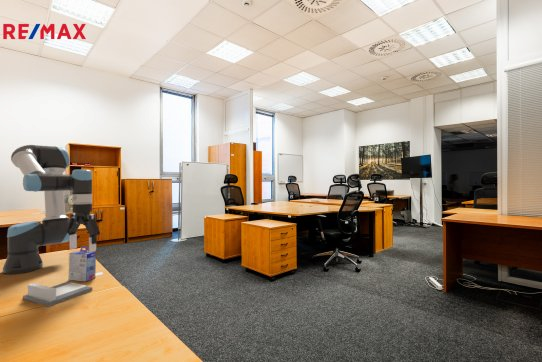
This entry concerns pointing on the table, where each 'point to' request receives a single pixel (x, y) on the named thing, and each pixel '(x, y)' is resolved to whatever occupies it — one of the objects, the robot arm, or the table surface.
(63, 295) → the dock board
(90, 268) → the ink cartridge box
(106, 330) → the table surface
